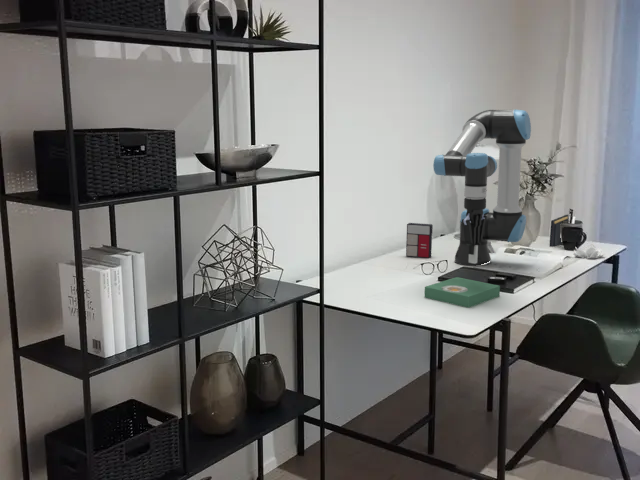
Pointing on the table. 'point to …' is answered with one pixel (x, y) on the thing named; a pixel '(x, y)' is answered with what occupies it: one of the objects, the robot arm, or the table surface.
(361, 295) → the table surface
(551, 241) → the dark blue book
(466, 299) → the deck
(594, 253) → the lotus flower
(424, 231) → the grey and red block
